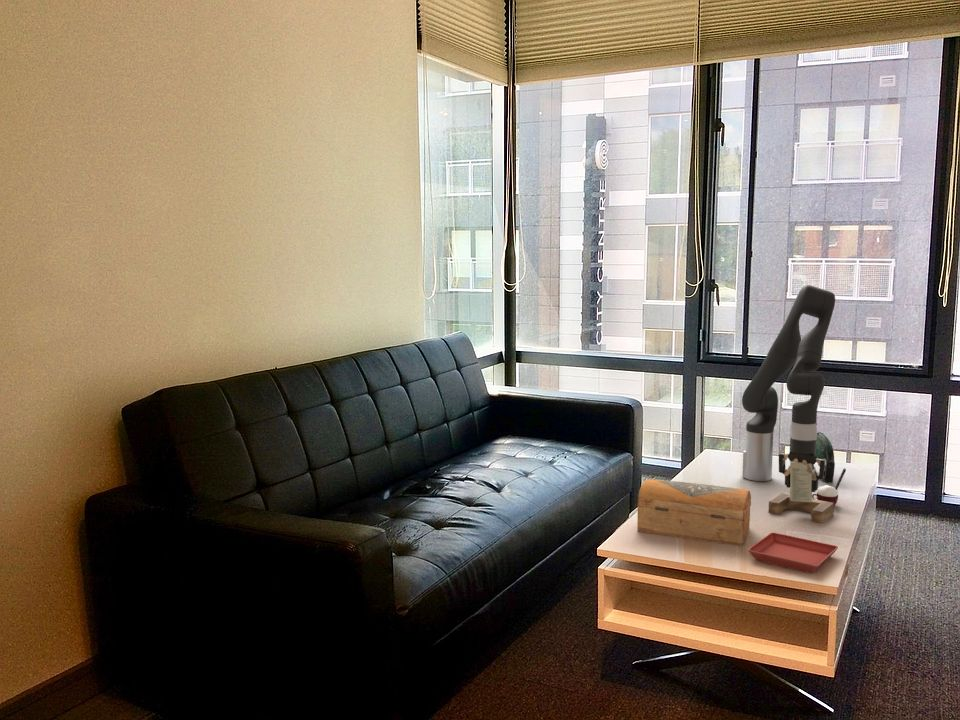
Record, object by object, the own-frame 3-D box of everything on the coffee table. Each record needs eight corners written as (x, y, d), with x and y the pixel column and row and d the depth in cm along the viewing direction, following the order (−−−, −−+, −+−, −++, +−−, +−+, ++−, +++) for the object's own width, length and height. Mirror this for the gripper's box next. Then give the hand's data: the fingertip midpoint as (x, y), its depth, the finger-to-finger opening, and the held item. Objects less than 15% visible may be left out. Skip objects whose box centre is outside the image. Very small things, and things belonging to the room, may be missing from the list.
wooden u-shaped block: (768, 512, 254) (768, 501, 253) (781, 503, 262) (781, 493, 261) (821, 523, 243) (822, 511, 243) (833, 513, 252) (833, 502, 251)
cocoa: (811, 506, 260) (810, 470, 259) (815, 500, 266) (815, 464, 264) (843, 510, 255) (843, 473, 253) (847, 504, 260) (847, 467, 258)
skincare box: (812, 499, 252) (813, 460, 250) (811, 503, 248) (813, 464, 246) (789, 496, 254) (791, 458, 253) (788, 500, 250) (790, 462, 249)
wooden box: (751, 529, 239) (753, 483, 238) (743, 547, 225) (745, 499, 223) (650, 515, 252) (651, 471, 250) (636, 532, 238) (637, 486, 236)
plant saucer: (771, 542, 229) (771, 531, 229) (838, 557, 218) (839, 545, 217) (746, 561, 215) (746, 549, 215) (817, 578, 204) (817, 566, 203)
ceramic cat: (793, 468, 303) (796, 415, 300) (810, 468, 304) (813, 415, 301) (821, 483, 283) (824, 427, 281) (839, 483, 284) (842, 426, 281)
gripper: (775, 435, 250) (773, 488, 252) (823, 442, 241) (821, 496, 243) (784, 431, 256) (781, 482, 258) (831, 437, 247) (829, 490, 249)
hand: (801, 489), depth 250 cm, fingers closed on skincare box, 7 cm apart
